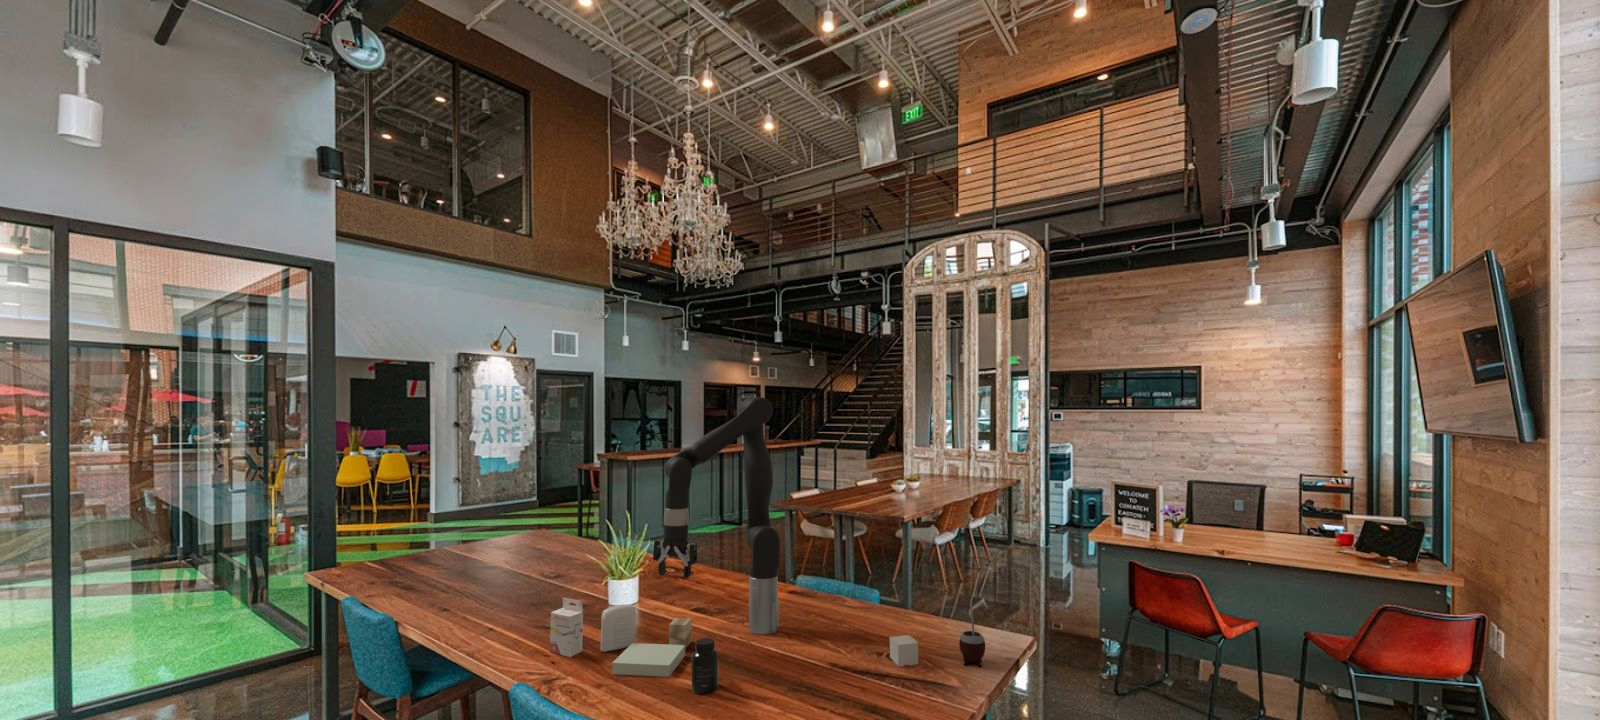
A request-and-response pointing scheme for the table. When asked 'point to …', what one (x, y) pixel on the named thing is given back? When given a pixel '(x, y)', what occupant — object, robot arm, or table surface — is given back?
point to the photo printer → (618, 627)
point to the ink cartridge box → (567, 629)
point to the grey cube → (904, 650)
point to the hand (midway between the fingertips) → (674, 576)
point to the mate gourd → (972, 645)
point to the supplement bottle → (705, 667)
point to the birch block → (680, 632)
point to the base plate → (649, 660)
